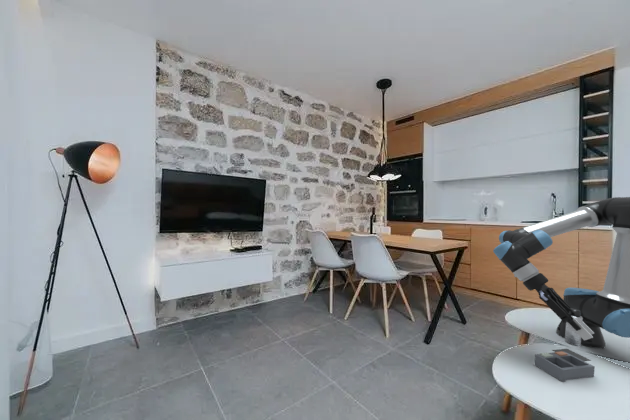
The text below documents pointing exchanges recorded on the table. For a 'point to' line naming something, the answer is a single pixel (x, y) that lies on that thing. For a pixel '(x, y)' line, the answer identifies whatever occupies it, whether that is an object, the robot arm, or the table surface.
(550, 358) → the socket block
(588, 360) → the plug mat
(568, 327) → the plug
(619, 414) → the table surface
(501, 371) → the table surface
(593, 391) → the table surface
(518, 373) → the table surface
